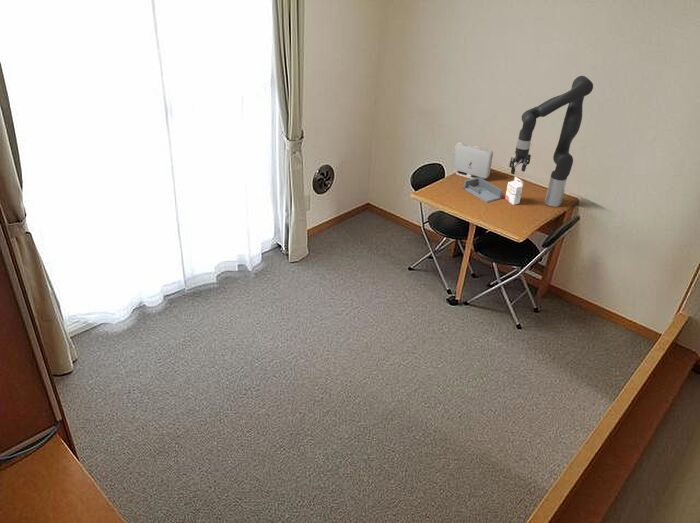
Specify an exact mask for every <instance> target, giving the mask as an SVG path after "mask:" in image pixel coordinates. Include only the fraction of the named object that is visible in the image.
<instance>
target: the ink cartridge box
mask: <svg viewBox="0 0 700 523" xmlns="http://www.w3.org/2000/svg"><path fill="white" fill-rule="evenodd" d="M523 189H524V181H523V179H521V178H518V177H517V176H514V178H513V180H511V181H508V182H507V185H506V193H505V196H504V200H505V201H507V202H509V203H510V204H511V205H513V206H514V205H518V204H520V201H521V197H522V192H523Z"/></svg>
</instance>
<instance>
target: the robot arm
mask: <svg viewBox="0 0 700 523" xmlns="http://www.w3.org/2000/svg"><path fill="white" fill-rule="evenodd" d="M593 89H594V84H593V82H592V80H590V79H589V78H588V77H587V76H585V75H580V76H579V75H578V76H577V77H576V78H575V79H574V80H573V82H572V85H571V89H570V90H568V91H566V92H565V93H562V94H559V95H557V96H554V97H551V98H549V99H547V100H545V101H543V102H542V103H540V104H539V105H537V106H534V107H532V108H529V109H528V110H526V111H524V112H523V113H522V115H521V121H522V128H521V129H520V130H519V134H518V140H517V142H516V147H515V151H514V152H515V153H514V154H515V156H514V157H513V156H512V157H510V161H509V165H508V167H509V168H510V169H511V170H510V174H512V175H515V174H516V173H515V172H516V169H517V166H519V165H520V164H522V166H521V170H520V171H521V172H523V173H524V172H526V170H527V166H528V165H530V162H531V157H532V156H531V154H530V148H531V145H532V144H531V141H532V137H533V132H534V130H535V127H536V125H537V119H539V118H544V117H547V116H548V115H551V113H553V112H555V111H557V110H559V109H560V108H562V107H563V106H566V105H567V109H566V112H565V115H564V118H563V119H564V120H563V122H562V126H561V131H560V135H559V139H558V142H557V145H556V148H555V151H554V153H553V155H552V156H553V157H552V160H553V162H554V163H555V169H554V170H552V171H551V174H550V178H549V182H548V186H547V190H546V195H545V199H544V204H545V205H547V206H549V207H555V208H556V207H560V206H561V204H562V202H563V199H564V196H565V189H566V188H565V187H566V184H567V180H568V177H569V176H570V173H571V170H572V167H573V164H574V157H573V156H572V154H570V148H571V144H572V141H573V140H574V138H576V135H577V134H578V133H579V131H580V128H581V124H582V121H583V103H584V100H585V97H586V96H588V95H590V94H591V93H592V91H593Z"/></svg>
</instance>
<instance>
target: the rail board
mask: <svg viewBox="0 0 700 523" xmlns="http://www.w3.org/2000/svg"><path fill="white" fill-rule="evenodd" d="M472 178H473V179H470V178H468V179H465V180H464V181H463V187H462V189H463V190H464V191H466V192H468V193H470V194H471V195H472V196H475V197H476V198H478V199H479V200H481V201H483V202H484V203H491V202H494V201H497V200H501V199H502V196H503V193H504V190H503V189H502V188H500V187H498V186H496V185H494V184H493V183H491V182H489V181H487V180H486V179H482V178H481V177H478V176H476V177H472Z"/></svg>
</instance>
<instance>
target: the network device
mask: <svg viewBox="0 0 700 523" xmlns="http://www.w3.org/2000/svg"><path fill="white" fill-rule="evenodd" d="M493 156H494V151H492V150H490V149H488V148H487V149H486V148H483V147H479V146H475V145H472V144H468V143H465V142H461V141H459V142H457V143H456V144H455V145H454V150H453V159H452V164H451V168H452V169H453V170H455V171H456V172H455V174H456V175H457V176H461V177H464V178H467V179H473V178H474V177H480V178H482V179H483V180H485V179H488V178H489V177H490V173H491V168H492V164H493ZM460 172H462V173H465V174H461V173H460ZM472 176H474V177H472Z"/></svg>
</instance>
